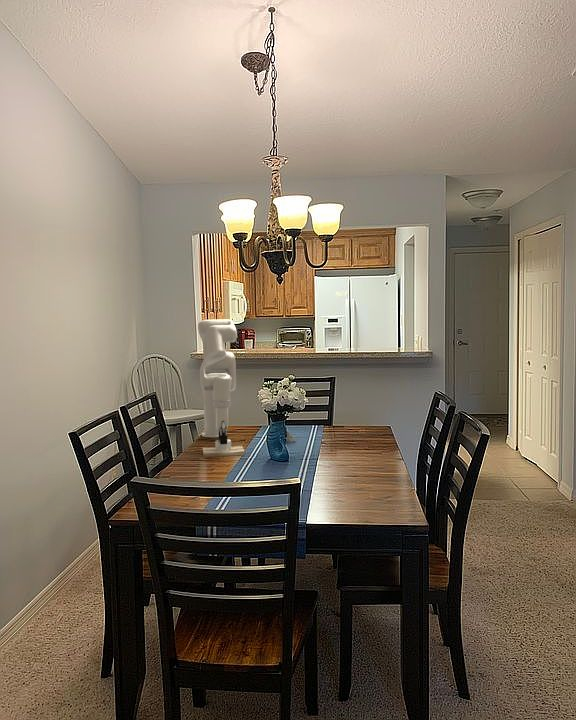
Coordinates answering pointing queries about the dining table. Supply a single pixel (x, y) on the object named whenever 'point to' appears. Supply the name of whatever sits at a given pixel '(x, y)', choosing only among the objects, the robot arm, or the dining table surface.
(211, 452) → the block
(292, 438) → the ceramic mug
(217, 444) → the ring
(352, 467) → the dining table surface
